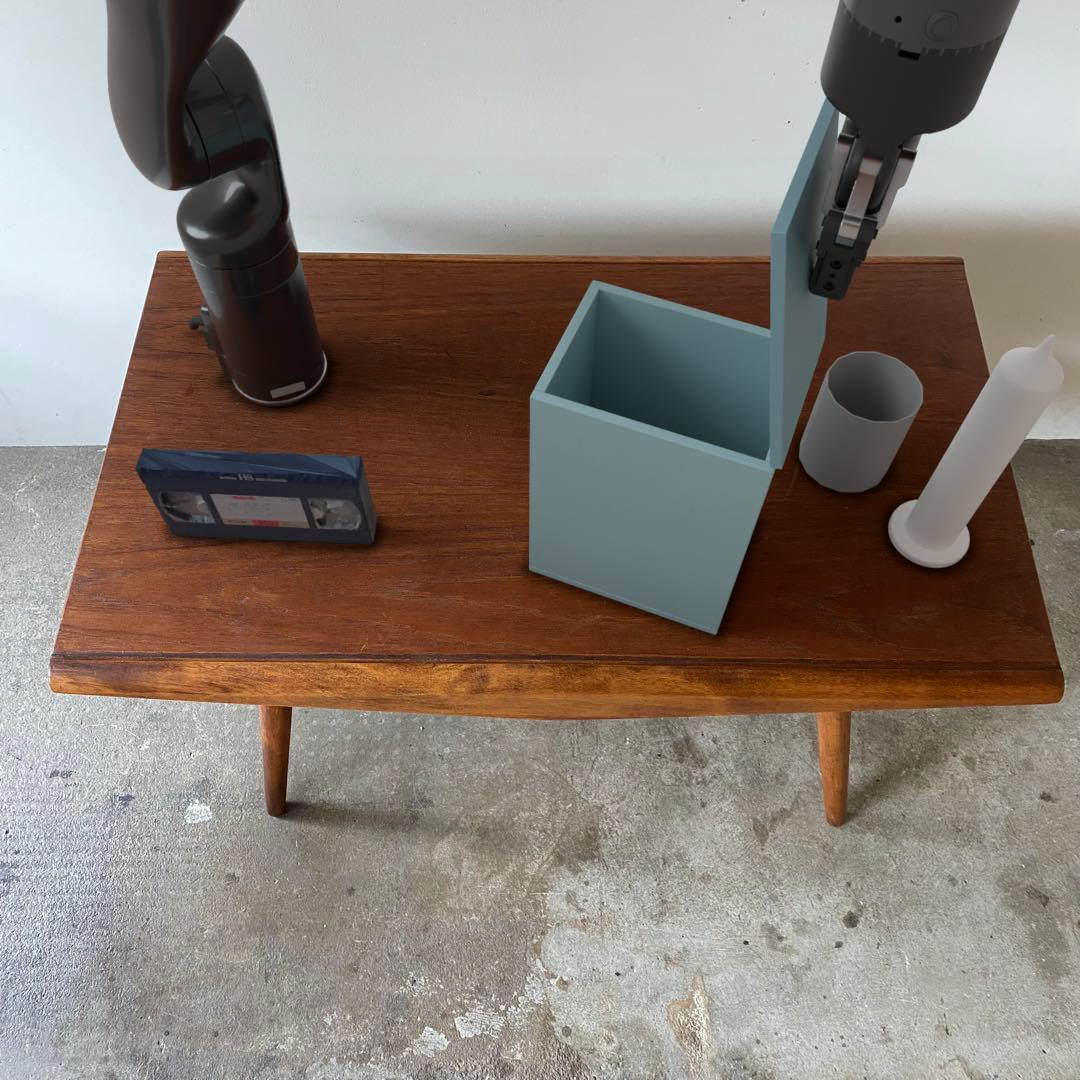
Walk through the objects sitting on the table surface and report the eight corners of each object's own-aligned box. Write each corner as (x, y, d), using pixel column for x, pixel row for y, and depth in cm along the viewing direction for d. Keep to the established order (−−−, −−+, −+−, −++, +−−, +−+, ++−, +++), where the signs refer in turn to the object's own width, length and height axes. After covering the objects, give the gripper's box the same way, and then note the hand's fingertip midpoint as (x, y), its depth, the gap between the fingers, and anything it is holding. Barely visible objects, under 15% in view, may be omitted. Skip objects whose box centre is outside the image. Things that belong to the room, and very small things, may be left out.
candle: (952, 581, 85) (1091, 389, 64) (875, 545, 87) (987, 347, 66) (977, 525, 88) (1118, 324, 67) (903, 491, 90) (1018, 286, 69)
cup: (896, 441, 93) (933, 369, 85) (875, 504, 89) (912, 435, 81) (812, 413, 95) (839, 340, 87) (787, 473, 91) (814, 402, 82)
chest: (528, 570, 85) (529, 396, 66) (579, 465, 91) (593, 279, 72) (715, 635, 81) (774, 473, 62) (754, 521, 88) (817, 342, 69)
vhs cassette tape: (170, 536, 86) (132, 468, 78) (179, 509, 88) (143, 440, 79) (373, 549, 86) (357, 483, 77) (379, 522, 87) (363, 454, 79)
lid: (770, 232, 48) (786, 233, 48) (825, 96, 55) (840, 96, 54) (769, 467, 62) (781, 469, 62) (813, 337, 68) (825, 338, 68)
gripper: (873, -88, 47) (791, 207, 62) (813, 54, 40) (737, 347, 55) (1030, -58, 46) (908, 237, 60) (995, 94, 39) (868, 384, 53)
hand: (827, 289), depth 58 cm, fingers closed
